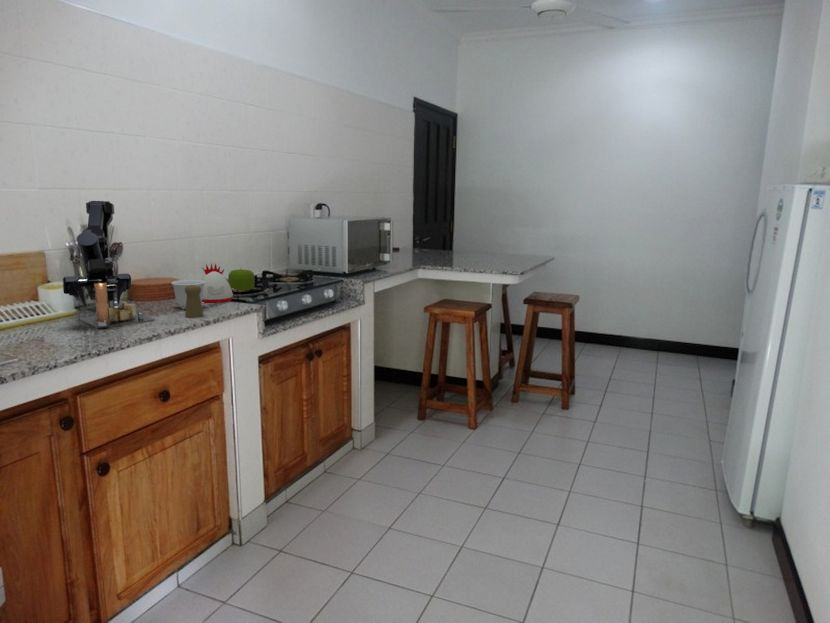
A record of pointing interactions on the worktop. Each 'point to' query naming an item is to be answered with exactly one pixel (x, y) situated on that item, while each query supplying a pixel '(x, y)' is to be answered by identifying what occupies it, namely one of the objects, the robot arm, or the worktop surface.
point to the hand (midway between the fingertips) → (102, 304)
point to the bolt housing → (137, 319)
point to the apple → (241, 279)
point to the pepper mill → (193, 301)
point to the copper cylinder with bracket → (110, 307)
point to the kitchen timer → (216, 286)
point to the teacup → (180, 290)
